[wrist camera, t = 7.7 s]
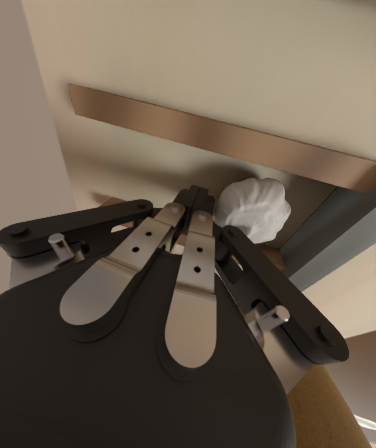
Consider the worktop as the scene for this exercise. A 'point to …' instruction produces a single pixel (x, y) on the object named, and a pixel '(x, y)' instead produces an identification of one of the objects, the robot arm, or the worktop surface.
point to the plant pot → (322, 413)
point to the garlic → (254, 208)
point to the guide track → (274, 158)
